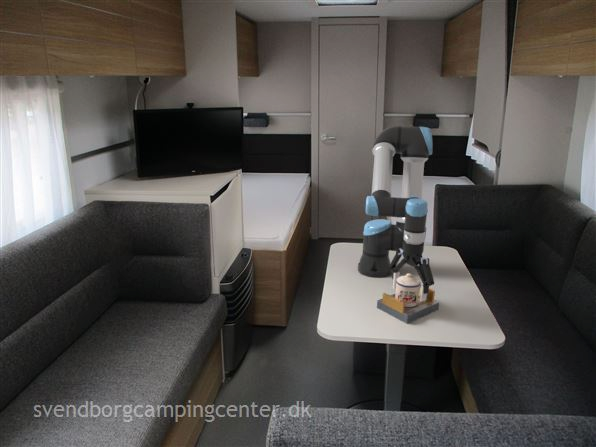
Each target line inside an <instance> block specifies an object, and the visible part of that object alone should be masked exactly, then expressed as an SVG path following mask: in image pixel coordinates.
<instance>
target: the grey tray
mask: <svg viewBox="0 0 596 447" xmlns="http://www.w3.org/2000/svg"><path fill="white" fill-rule="evenodd" d="M421 285H422V284H420V286H421ZM435 293H436V291H435V290H434V289H432V288H429V292H428V294H427V297H426V300H425V301H422V302H421V301H420V298H419V300H418V304H417V305H416V306H414V307H405V303H404V302H402V301H400V300H398V299H396V298H395V296H396V293H394V294H388V293H385V292H384V293H382V298H380V299H377V303H376V308H377V309H379V310H381V311H382V312H384V313H386V314H388V315H390V316H392V317H394V318H395V319H398V320H400V321H401V322H403V323H405V324H410V323H412V322H414V321H417V320H419V319H421V318H423V317H425V316H428V315H430V314H432V313H435V312H437V311H439V307H440V301H437V300H435V296H436V294H435ZM420 294H421V288H420V289H419V296H420Z"/></svg>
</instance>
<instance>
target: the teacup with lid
mask: <svg viewBox="0 0 596 447" xmlns="http://www.w3.org/2000/svg"><path fill="white" fill-rule="evenodd" d="M421 282H422V281H421V279H420V278H418V277H415V276H413V274H411V273H406V274H405V275H400V277H398V278H397V280H396V288H395V294H396V296H395V298H396V299H398V300H400V301H402V302H404V303H405V307H414V306H416V305H417V304H418V300H419V298H420V296H419V289H420V288H421V286H420V285H422V283H421ZM427 294H428V293H427Z"/></svg>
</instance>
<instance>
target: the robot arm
mask: <svg viewBox="0 0 596 447" xmlns="http://www.w3.org/2000/svg"><path fill="white" fill-rule="evenodd" d="M371 152H372V155H373V158H374V160H373V170H372V171H373V174H372V185H371V195H367V196H366V200H365V214H366V215H367V216H373V217H387V218H388V217H389V218H397V219H396V222H395V224H394V223H392V222H391V220H389V219H384V218H383V219H382V218H381V219H380V218H379V219H373V220H369V221H367V222H366V223H365V224H364V227H363V240H362V241H363V242H362V254H361V256H360V259H359V262H358V265H357V271H358V273H360V275H361V274H362V275H363V276H366V277H371V278H383V277H388V276H390V275H391V274H392V276H391V278H392V280H393V281H392V289H393V290H396V280H397V278H398V277H400V276H401V272H400V270H401V269H402V268H403V267H404V266H405V265H409V266H411V267H413V269H415V270H416V272H417V274H418V277H419V280H420V282H422V283H421V284H420V285H421V294H420V301H421V302H422V301H425V300H426V297H427V293H428V292H429V289H430V287H431V286H433V285H434V284H435V281H434V276H433V273H432V268H431V266H430V258H429V257H426V258H424V257H423V252H424V248H425V242H426V237H427V226H426V225H427V216H428V210H429V209H428V207H429V206H428V201H426V200H425V199H422V197H423V184H424V172H425V170H424V168H425V162H427V161H428V160H429V156H431V155H433V135H432V130H431V128H429V127H426V126H412V125H411V126H407V125H406V126H405V125H404V126H402V125H401V126H400V125H399V126H398V125H392V126H389V127H387V128H385V129H383V130H382V131H381V132H380V133H379V134H378V135H377V136H376V138H375V140H374V141H373V145H372V151H371ZM395 154H398V155H399V154H400V159H401V161H403V172H402V183H401V184H402V186H401V197H393V196H392V186H393V185H392V179H393V162H394V161H393V159H394V158H393V157H394V156H395ZM392 251H393V252H395V255H394V257H393V258H392V260H390V255H389V254H390V252H392ZM402 257H403V258H402ZM401 258H402V259H401ZM400 259H401V260H400Z"/></svg>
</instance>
